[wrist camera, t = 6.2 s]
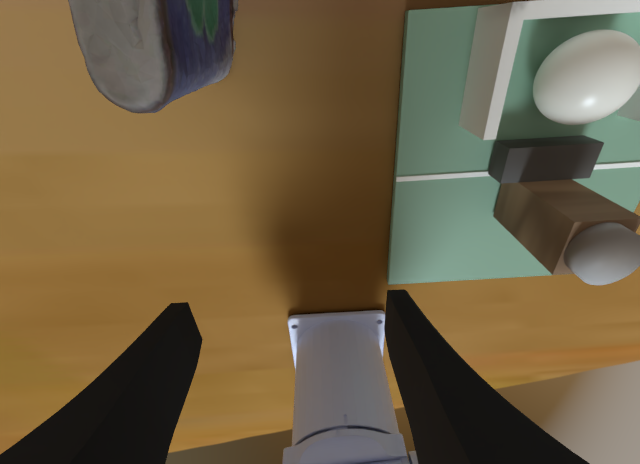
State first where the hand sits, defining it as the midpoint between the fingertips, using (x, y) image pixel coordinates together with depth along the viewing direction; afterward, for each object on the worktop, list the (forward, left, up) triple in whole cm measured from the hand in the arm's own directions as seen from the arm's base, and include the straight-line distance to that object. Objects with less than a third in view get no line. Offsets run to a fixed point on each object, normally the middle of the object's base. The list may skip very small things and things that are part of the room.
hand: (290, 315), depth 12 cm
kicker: (-1, -14, -10) cm, 17 cm away
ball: (+6, -14, -8) cm, 17 cm away
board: (+1, -14, -10) cm, 18 cm away
